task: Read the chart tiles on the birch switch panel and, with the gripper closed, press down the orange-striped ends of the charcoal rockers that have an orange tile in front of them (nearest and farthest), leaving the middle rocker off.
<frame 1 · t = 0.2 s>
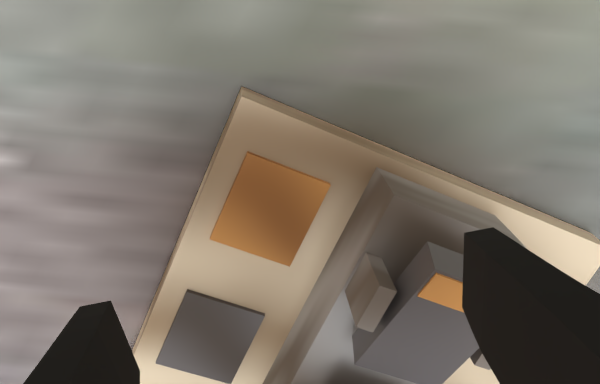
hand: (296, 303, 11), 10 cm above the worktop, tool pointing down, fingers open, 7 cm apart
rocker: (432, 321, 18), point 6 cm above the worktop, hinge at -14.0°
switch panel: (327, 350, 25), on the worktop
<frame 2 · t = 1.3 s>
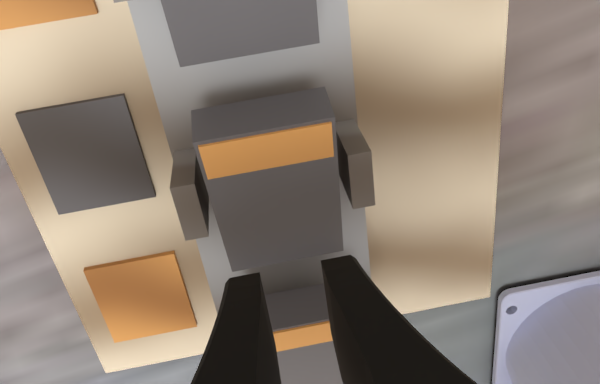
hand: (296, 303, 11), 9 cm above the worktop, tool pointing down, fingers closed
middle rocker: (274, 188, 14), point 6 cm above the worktop, hinge at -14.0°
switch panel: (259, 106, 19), on the worktop
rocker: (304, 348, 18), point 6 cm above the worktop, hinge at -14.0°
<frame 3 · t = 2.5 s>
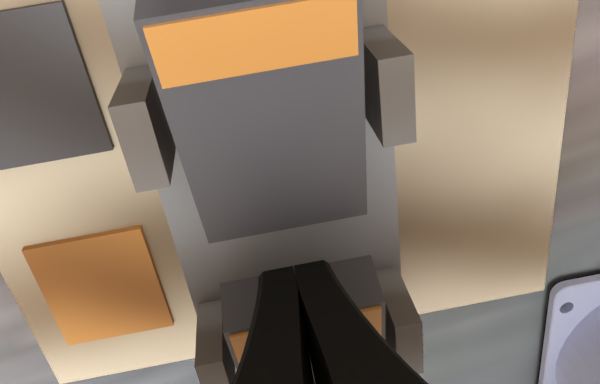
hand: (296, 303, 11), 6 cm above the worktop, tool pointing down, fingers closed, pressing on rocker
middle rocker: (268, 115, 10), point 6 cm above the worktop, hinge at -14.0°
switch panel: (251, 33, 15), on the worktop
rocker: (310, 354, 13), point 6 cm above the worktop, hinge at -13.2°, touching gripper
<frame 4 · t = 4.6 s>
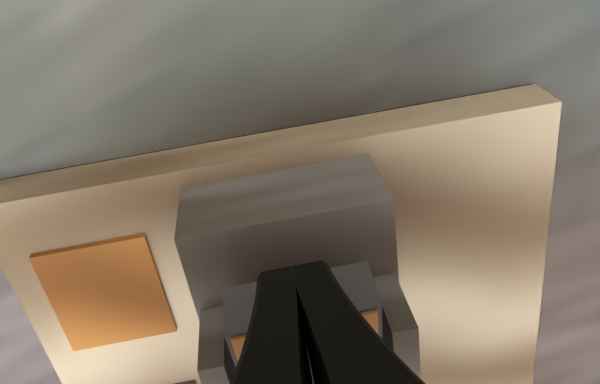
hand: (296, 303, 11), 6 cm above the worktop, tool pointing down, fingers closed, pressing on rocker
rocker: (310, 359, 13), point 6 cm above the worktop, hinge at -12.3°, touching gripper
switch panel: (310, 361, 21), on the worktop
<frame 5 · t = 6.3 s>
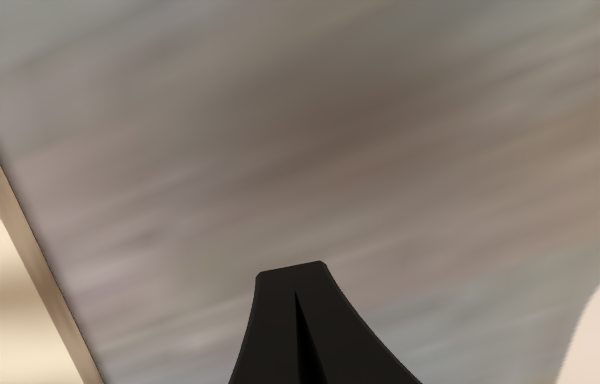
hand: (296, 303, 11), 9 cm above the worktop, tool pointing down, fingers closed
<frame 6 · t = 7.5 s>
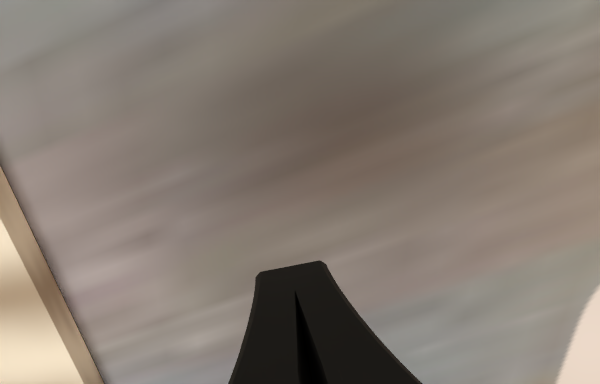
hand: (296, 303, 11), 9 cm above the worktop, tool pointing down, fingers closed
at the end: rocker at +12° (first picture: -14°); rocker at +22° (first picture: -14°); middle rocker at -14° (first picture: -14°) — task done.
